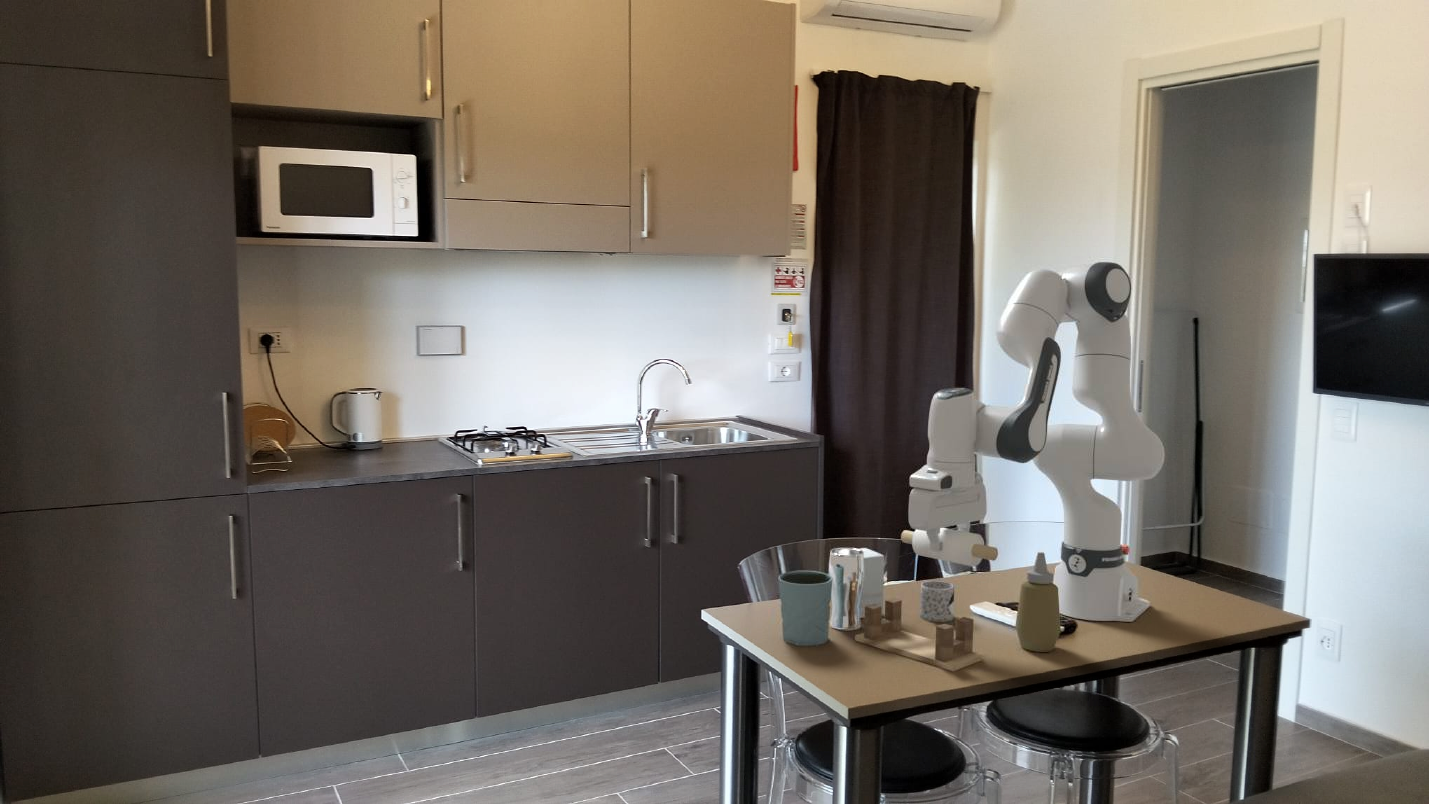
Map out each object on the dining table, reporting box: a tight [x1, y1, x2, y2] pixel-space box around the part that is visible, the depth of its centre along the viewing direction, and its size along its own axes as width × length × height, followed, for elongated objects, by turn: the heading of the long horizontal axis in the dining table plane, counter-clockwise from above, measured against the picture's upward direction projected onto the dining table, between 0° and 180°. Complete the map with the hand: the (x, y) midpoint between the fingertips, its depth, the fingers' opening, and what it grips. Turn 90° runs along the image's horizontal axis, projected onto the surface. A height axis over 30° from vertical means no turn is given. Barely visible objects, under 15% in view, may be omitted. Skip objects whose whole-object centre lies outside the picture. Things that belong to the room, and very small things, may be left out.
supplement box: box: [858, 547, 885, 619], centre depth 216 cm, size 7×7×13 cm
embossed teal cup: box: [777, 570, 833, 647], centre depth 199 cm, size 10×10×12 cm
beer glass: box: [828, 547, 865, 632], centre depth 207 cm, size 7×7×15 cm
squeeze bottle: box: [1015, 551, 1062, 653], centre depth 195 cm, size 8×8×18 cm
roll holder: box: [854, 597, 983, 672], centre depth 194 cm, size 22×9×7 cm, turn 43°
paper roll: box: [900, 527, 999, 567], centre depth 198 cm, size 20×6×6 cm, turn 42°
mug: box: [919, 580, 955, 623], centre depth 216 cm, size 10×7×7 cm
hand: (947, 548), depth 198 cm, fingers closed on paper roll, 6 cm apart
